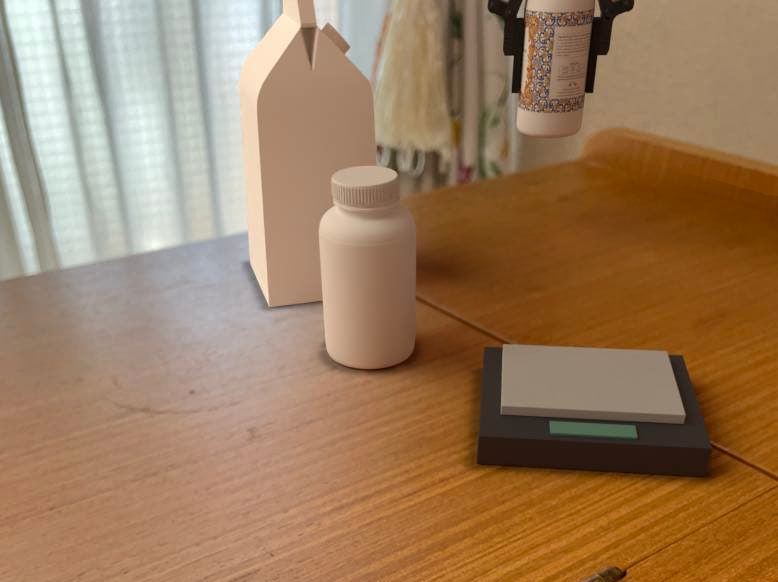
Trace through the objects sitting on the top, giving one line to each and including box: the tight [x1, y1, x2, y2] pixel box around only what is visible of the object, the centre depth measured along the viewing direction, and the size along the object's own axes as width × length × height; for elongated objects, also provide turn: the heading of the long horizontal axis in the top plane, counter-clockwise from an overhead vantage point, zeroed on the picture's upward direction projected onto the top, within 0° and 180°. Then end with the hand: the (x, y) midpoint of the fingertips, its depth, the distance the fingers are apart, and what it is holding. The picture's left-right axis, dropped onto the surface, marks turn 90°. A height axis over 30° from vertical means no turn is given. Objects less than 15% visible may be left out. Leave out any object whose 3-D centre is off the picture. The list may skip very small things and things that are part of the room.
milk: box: [238, 0, 378, 308], centre depth 82 cm, size 12×12×26 cm
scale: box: [476, 343, 713, 478], centre depth 66 cm, size 16×14×3 cm
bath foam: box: [516, 0, 596, 139], centre depth 88 cm, size 7×7×20 cm
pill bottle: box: [319, 165, 417, 370], centre depth 72 cm, size 8×8×15 cm
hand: (551, 90), depth 92 cm, fingers closed on bath foam, 7 cm apart
